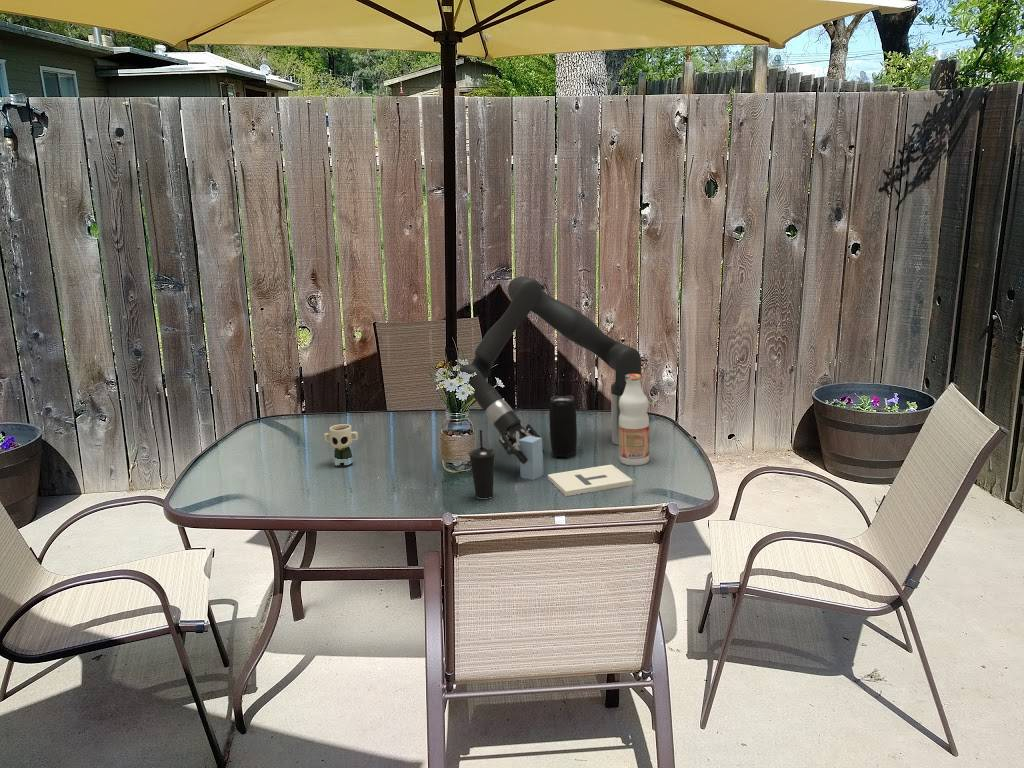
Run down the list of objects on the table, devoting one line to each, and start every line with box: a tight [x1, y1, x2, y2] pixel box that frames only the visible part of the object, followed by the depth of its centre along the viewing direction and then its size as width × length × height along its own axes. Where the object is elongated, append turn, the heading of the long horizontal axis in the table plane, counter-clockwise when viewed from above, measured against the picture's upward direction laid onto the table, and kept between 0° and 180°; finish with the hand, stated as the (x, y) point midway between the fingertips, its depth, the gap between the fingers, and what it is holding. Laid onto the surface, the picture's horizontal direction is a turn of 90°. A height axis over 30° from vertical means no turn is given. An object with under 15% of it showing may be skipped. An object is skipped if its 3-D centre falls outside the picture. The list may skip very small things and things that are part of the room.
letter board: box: [547, 464, 634, 497], centre depth 242 cm, size 21×15×2 cm
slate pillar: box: [519, 435, 544, 480], centre depth 248 cm, size 5×5×12 cm
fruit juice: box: [618, 374, 650, 466], centre depth 254 cm, size 9×9×28 cm
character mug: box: [323, 423, 359, 459], centre depth 266 cm, size 11×7×13 cm, turn 90°
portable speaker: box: [548, 394, 578, 459], centre depth 264 cm, size 9×9×20 cm
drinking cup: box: [468, 429, 496, 498], centre depth 232 cm, size 8×8×20 cm
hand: (534, 458), depth 247 cm, fingers open, 8 cm apart
